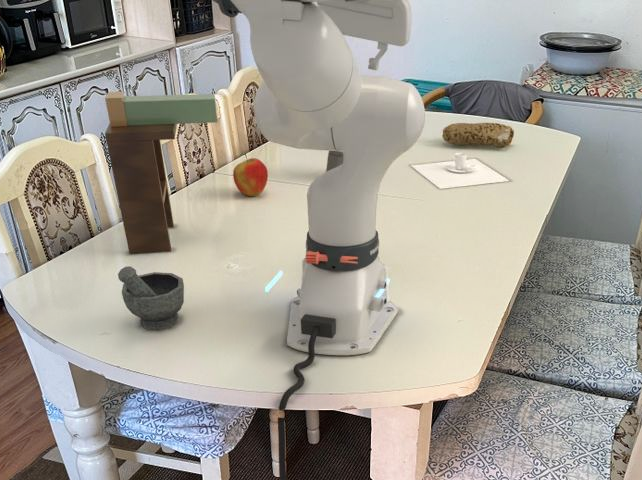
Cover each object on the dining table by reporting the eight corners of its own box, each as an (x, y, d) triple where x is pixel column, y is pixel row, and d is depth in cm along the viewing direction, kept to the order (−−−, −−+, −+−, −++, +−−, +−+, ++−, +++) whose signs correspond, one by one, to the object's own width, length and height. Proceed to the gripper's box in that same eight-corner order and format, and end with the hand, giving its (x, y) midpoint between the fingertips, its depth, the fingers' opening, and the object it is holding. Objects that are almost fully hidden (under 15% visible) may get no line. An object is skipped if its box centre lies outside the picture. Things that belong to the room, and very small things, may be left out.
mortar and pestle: (155, 303, 123) (144, 240, 117) (200, 314, 120) (190, 249, 114) (111, 333, 114) (95, 266, 108) (158, 345, 111) (145, 277, 105)
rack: (192, 224, 154) (176, 112, 141) (191, 250, 142) (173, 130, 130) (135, 227, 151) (113, 114, 139) (129, 254, 140) (104, 133, 127)
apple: (259, 202, 166) (255, 160, 161) (229, 197, 168) (224, 156, 163) (275, 191, 173) (272, 151, 167) (246, 187, 175) (242, 147, 169)
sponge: (511, 146, 214) (450, 126, 217) (518, 123, 208) (456, 102, 212) (499, 166, 205) (436, 144, 208) (506, 142, 199) (441, 120, 203)
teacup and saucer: (481, 173, 188) (482, 158, 186) (454, 176, 185) (455, 160, 183) (467, 163, 195) (468, 149, 193) (441, 166, 192) (441, 151, 190)
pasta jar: (217, 116, 139) (214, 89, 136) (217, 123, 135) (214, 95, 132) (113, 119, 135) (108, 91, 132) (110, 126, 131) (104, 98, 128)
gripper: (292, -37, 114) (284, 53, 121) (413, -13, 113) (399, 77, 119) (303, -35, 120) (295, 51, 126) (419, -12, 118) (405, 74, 125)
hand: (346, 64), depth 123 cm, fingers open, 8 cm apart
